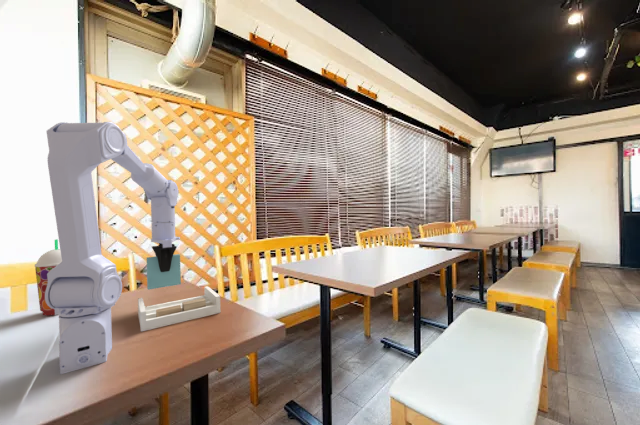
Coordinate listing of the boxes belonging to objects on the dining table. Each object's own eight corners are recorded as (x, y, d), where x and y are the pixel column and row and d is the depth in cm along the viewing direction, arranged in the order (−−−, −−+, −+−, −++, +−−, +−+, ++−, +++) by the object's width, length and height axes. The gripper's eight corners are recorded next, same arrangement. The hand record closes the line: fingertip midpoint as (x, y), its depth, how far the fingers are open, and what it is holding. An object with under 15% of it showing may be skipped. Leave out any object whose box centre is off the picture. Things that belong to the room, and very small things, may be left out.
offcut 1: (181, 319, 65) (181, 307, 65) (157, 325, 62) (157, 312, 62) (179, 317, 66) (179, 304, 66) (156, 322, 63) (156, 309, 63)
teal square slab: (180, 284, 77) (180, 254, 77) (147, 289, 72) (147, 258, 72) (179, 283, 78) (179, 254, 78) (147, 288, 73) (146, 257, 73)
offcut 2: (205, 313, 68) (205, 300, 68) (184, 318, 65) (183, 304, 65) (203, 311, 70) (203, 298, 70) (182, 316, 67) (182, 302, 67)
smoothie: (72, 304, 80) (70, 237, 79) (83, 309, 75) (81, 238, 75) (31, 314, 72) (29, 240, 72) (41, 320, 68) (39, 241, 68)
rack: (220, 315, 69) (220, 296, 69) (141, 335, 59) (140, 312, 59) (208, 303, 78) (208, 286, 78) (138, 318, 68) (137, 298, 68)
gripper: (184, 222, 72) (185, 273, 72) (175, 221, 83) (176, 265, 83) (153, 223, 67) (154, 277, 68) (148, 222, 79) (149, 268, 79)
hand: (164, 270), depth 75 cm, fingers closed on teal square slab, 2 cm apart
